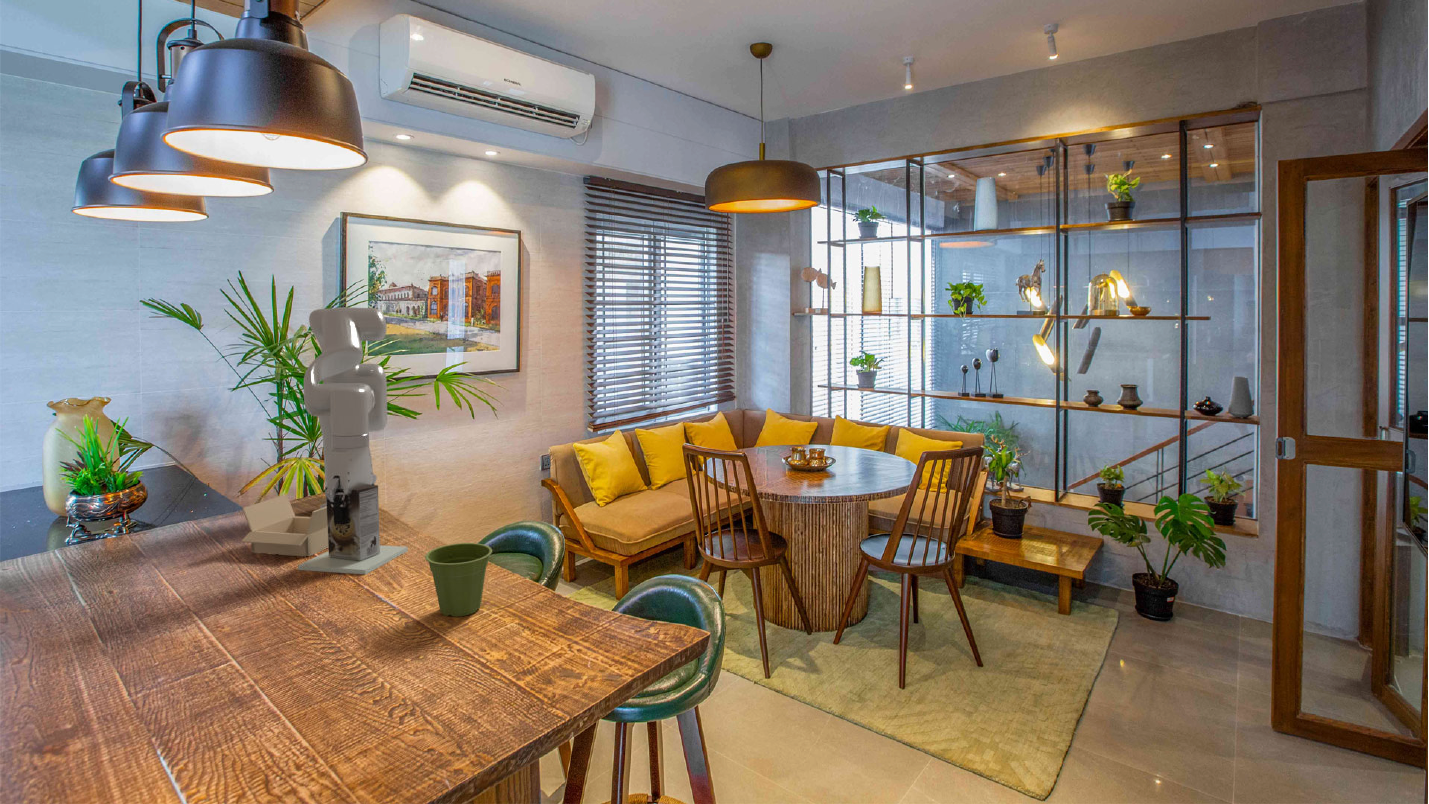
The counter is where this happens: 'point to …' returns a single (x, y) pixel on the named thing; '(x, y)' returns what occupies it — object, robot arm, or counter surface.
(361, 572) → the tile
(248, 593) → the counter surface
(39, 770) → the counter surface
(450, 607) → the plant pot
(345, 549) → the coffee box
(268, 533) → the carton
